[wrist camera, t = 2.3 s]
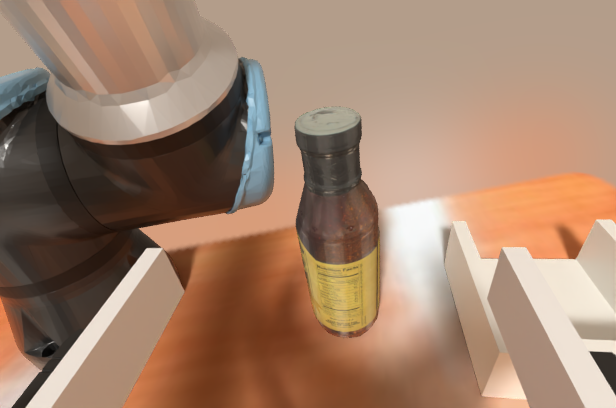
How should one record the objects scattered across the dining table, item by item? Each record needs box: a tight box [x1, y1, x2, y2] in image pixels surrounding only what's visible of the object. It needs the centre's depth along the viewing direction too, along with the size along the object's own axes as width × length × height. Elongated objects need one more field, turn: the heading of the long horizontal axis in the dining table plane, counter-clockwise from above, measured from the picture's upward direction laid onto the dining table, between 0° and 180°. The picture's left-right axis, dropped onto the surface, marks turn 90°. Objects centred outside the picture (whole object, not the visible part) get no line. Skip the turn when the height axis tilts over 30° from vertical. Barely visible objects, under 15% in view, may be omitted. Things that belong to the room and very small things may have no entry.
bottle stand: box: [444, 220, 616, 400], centre depth 27 cm, size 13×13×6 cm
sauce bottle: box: [295, 107, 380, 338], centre depth 26 cm, size 6×6×20 cm
